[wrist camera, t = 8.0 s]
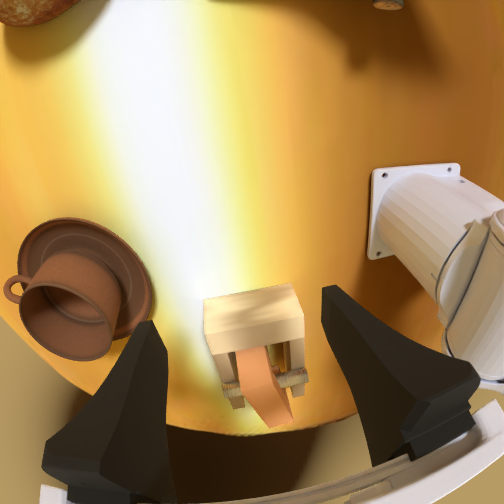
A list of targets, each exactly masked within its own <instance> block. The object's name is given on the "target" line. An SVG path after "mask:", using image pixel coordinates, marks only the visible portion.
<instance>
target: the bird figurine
mask: <svg viewBox="0 0 504 504" xmlns="http://www.w3.org/2000/svg"><path fill="white" fill-rule="evenodd" d="M373 6H374V7H376V8H378V9H384V10H399V9H402V8H403V6H404V4H403V0H373Z"/></svg>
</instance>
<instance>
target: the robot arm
mask: <svg viewBox="0 0 504 504" xmlns="http://www.w3.org/2000/svg"><path fill="white" fill-rule="evenodd" d="M448 168H449V169H448ZM447 170H448V171H447ZM383 173H385V176H384V177H382V174H383ZM377 252H379V253H378V254H377ZM391 255H395V256H396V257H397V258H398V259H399V260H400V261H401V262H402V263H403V264H404V266H405V267H406V268H407V269H408V270H409V271H410V272H411V274H412V275H413V276H414V277H415V278H416V279H417V280H418V282H419V283H420V284H421V285H422V286H423V287H424V289H425V290H426V291H427V292H428V293H429V295H430V296H431V297H432V298H433V299H434V301H435V302H436V303H437V304H438V306H439V312H438V315H437V318H438V319H439V321H440V322H441V323H442V325H443V326H444V327H445V330H444V332H443V335H442V339H441V347H442V352H443V354H442V353H439V352H437V351H434V350H432V349H429V348H427V347H425V346H423V345H421V344H419V343H417V342H414V341H413V340H411V339H409V338H407V337H405V336H403V335H402V334H400V333H398V332H397V331H395V330H393V329H392V328H390V327H389V326H387V325H386V324H384V323H383V322H382V321H380V320H379V319H377V318H376V317H375V316H373V315H372V314H371V313H370V312H368V311H367V310H366V309H364V308H363V307H362V306H361V305H359V304H358V303H357V302H356V301H355V300H353V299H352V298H351V297H350V296H349V295H348V294H346V293H345V292H344V291H343V290H342V289H341V288H339V287H338V286H337V285H331V286H327V287H323V288H322V312H321V323H322V326H323V329H324V332H325V334H326V337H327V340H328V343H329V345H330V347H331V349H332V351H333V353H334V355H335V357H336V359H337V361H338V363H339V365H340V367H341V369H342V371H343V373H344V375H345V377H346V380H347V382H348V384H349V386H350V389H351V392H352V394H353V397H354V400H355V403H356V406H357V409H358V413H359V416H360V419H361V422H362V426H363V430H364V433H365V437H366V441H367V445H368V449H369V453H370V458H371V462H372V467H373V468H370V469H368V470H365V471H362V472H359V473H356V474H353V475H350V476H347V477H344V478H341V479H338V480H335V481H331V482H328V483H324V484H321V485H317V486H313V487H309V488H305V489H301V490H297V491H292V492H288V493H283V494H277V495H272V496H266V497H260V498H253V499H246V500H238V501H229V502H219V503H204V504H317V503H320V502H324V501H328V500H331V499H335V498H338V497H341V496H344V495H347V494H350V493H353V492H356V491H359V490H362V489H365V488H367V487H370V486H372V487H370V488H368V489H366V490H363V491H361V492H358V493H356V494H354V495H351V497H350V500H348V501H346V502H345V503H344V504H432V503H433V502H435V501H437V500H439V499H440V498H442V497H444V496H445V495H447V494H448V493H450V492H452V491H453V490H455V489H456V488H458V487H460V486H461V485H463V484H464V483H466V482H467V481H469V480H470V479H471V478H473V477H474V476H476V475H477V474H478V473H480V472H481V471H483V470H484V469H485V468H486V467H488V466H489V465H490V464H492V463H493V462H494V461H496V460H497V459H498V458H499V457H501V456H502V455H503V454H504V412H503V411H502V409H501V407H500V405H499V404H498V402H497V401H496V399H493V400H492V401H490V402H489V403H487V404H486V405H484V406H483V407H481V408H480V409H478V410H477V411H476V412H475V413H473V414H472V415H471V414H470V412H469V409H470V408H471V405H470V404H469V402H468V400H469V399H470V397H471V396H472V395H473V393H474V392H475V391H476V390H477V388H482V389H490V390H495V391H497V392H499V393H501V394H503V395H504V202H503V201H501V200H500V199H498V198H497V197H495V196H494V195H492V194H490V193H489V192H487V191H486V190H484V189H482V188H481V187H479V186H477V185H475V184H474V183H472V182H470V181H468V180H467V179H465V178H463V177H461V176H460V165H459V164H457V163H443V164H427V165H413V166H401V167H390V168H379V169H375V170H374V171H373V172H372V180H371V207H370V224H369V238H368V250H367V256H368V258H369V259H371V260H374V259H379V258H383V257H387V256H391ZM167 388H168V353H167V349H166V347H165V345H164V343H163V341H162V339H161V337H160V335H159V333H158V331H157V329H156V327H155V325H154V323H153V321H152V320H150V321H143V322H139V323H138V325H137V326H136V328H135V330H134V332H133V333H132V335H131V337H130V339H129V341H128V342H127V344H126V346H125V348H124V350H123V351H122V353H121V355H120V356H119V358H118V360H117V362H116V363H115V365H114V367H113V368H112V370H111V371H110V373H109V374H108V376H107V378H106V379H105V381H104V382H103V383H102V385H101V386H100V388H99V389H98V390H97V392H96V393H95V394H94V396H93V397H92V398H91V399H90V400H89V401H88V403H87V404H86V405H85V406H84V407H83V408H82V410H81V411H80V412H79V413H78V414H77V415H76V416H75V417H74V418H73V419H72V420H71V421H70V422H69V423H68V424H66V425H65V426H64V427H63V428H62V429H61V430H60V431H58V432H57V433H56V434H55V435H54V436H52V437H51V438H50V439H48V440H47V441H46V444H45V449H44V454H43V460H42V466H41V467H42V469H43V470H44V471H45V472H46V473H47V474H49V475H50V476H52V477H54V478H56V479H58V480H59V481H61V482H63V483H65V484H67V485H68V491H67V490H64V489H61V488H57V487H53V486H49V485H45V484H42V485H41V493H40V503H39V504H176V503H177V502H178V499H177V496H176V491H175V487H174V482H173V477H172V471H171V466H170V459H169V451H168V443H167V432H166V404H167ZM378 483H379V484H378ZM375 484H377V485H375ZM373 485H374V486H373Z"/></svg>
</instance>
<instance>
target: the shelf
mask: <svg viewBox="0 0 504 504" xmlns="http://www.w3.org/2000/svg"><path fill="white" fill-rule="evenodd" d="M203 300H204V332H205V337H206V340H207V343H208V345H209V348H210V351H211V353H212V356H213V359H214V361H215V364H216V367H217V369H218V372H219V374H220V377H221V380H222V382H223V384H222V386H223V393H224V396H225V398H229V400H230V402H231V404H232V407H233V409H237V408H243V407H245V404H244V398H243V396H244V395H243V394H242V393H241V388H240V381H239V375H238V368H237V364H236V361H235V357H234V354H233V352H234V351H239V350H245V349H250V348H256V347H261V346H266V345H271V344H275V343H280V342H283V352H284V363H285V370H286V372H282V373H278V374H274V375H275V377H276V379H277V381H278V383H279V385H280V387H281V388H285V387H289V386H290V388H291V392H292V396H293V398H294V397H298V396H302V395H304V386H305V383H306V382H308V381H309V380H308V374H307V370H306V368H305V349H304V314H303V311H302V309H301V306H300V304H299V301H298V299H297V296H296V294H295V291H294V289H293V286H292V284H291V283H287V284H282V285H277V286H272V287H267V288H262V289H257V290H252V291H247V292H241V293H236V294H231V295H225V296H220V297H214V298H209V299H203Z"/></svg>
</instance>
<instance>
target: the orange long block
mask: <svg viewBox="0 0 504 504" xmlns="http://www.w3.org/2000/svg"><path fill="white" fill-rule="evenodd" d="M235 354H236V361H237V368H238V375H239V381H240V388H241V393H242V394H243V395H244V397H245V398H246V399H247V400H248V402H249V403H250V404H251V406H252V407H253V408H254V410H255V411H256V412H257V413H258V415H259V416H260V417H261V419H262V420H263V421H264V422H265V424H266V425H267V426H268V427H269V428H272V427H276V426H280V425H283V424H287V423H290V422H294V420H293V416H292V412H291V408H290V404H289V401H288V397H287V393H286V389H285V388H281V387H280V385H279V383H278V381H277V379H276V377H275V375H274V374H278V373H281V371H280V369H279V367H278V365H277V366H274V367H271V363H270V359H269V354H268V350H267V346H261V347H256V348H250V349H245V350H239V351H235Z"/></svg>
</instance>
